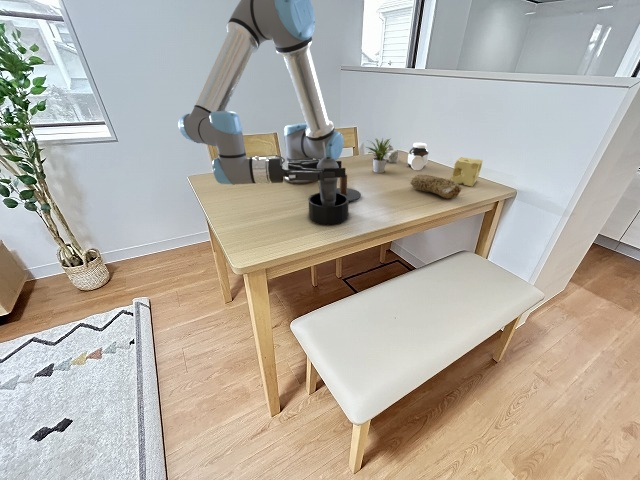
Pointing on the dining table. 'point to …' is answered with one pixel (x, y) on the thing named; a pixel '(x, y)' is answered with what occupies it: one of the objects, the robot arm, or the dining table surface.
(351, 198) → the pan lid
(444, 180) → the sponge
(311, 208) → the black round bowl
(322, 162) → the beverage cup
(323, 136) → the robot arm
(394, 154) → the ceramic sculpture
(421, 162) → the spread jar
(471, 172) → the cheese
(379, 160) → the house plant
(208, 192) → the dining table surface
